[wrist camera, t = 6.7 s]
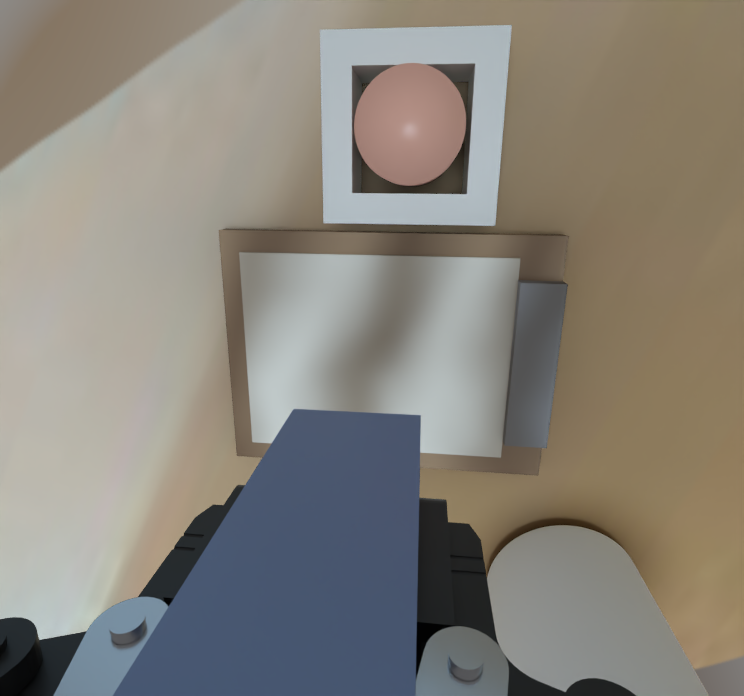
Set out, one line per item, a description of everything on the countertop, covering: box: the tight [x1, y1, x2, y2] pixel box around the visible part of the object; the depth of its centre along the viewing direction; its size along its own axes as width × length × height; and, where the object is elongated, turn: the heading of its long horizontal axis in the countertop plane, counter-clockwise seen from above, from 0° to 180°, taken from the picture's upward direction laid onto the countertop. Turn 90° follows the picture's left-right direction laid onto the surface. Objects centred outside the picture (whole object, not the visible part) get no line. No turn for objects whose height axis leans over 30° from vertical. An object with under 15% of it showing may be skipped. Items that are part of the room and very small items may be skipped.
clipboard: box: [219, 229, 568, 475], centre depth 24 cm, size 16×12×2 cm
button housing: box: [320, 25, 512, 226], centre depth 20 cm, size 7×7×3 cm
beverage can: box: [487, 525, 709, 696], centre depth 22 cm, size 8×8×12 cm
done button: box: [354, 63, 466, 187], centre depth 19 cm, size 4×4×3 cm
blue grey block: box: [113, 409, 421, 696], centre depth 9 cm, size 4×4×10 cm
